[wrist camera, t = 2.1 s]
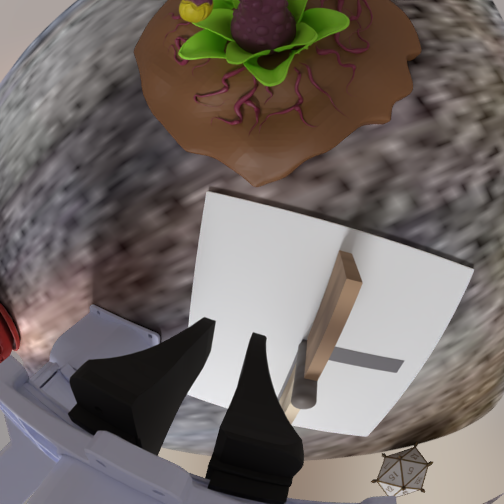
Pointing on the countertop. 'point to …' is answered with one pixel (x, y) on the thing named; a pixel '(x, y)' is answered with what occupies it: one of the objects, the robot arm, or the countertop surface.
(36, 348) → the countertop surface
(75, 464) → the robot arm
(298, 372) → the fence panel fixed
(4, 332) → the plant pot
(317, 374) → the brown wooden board
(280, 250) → the card
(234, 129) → the plant
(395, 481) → the game die
